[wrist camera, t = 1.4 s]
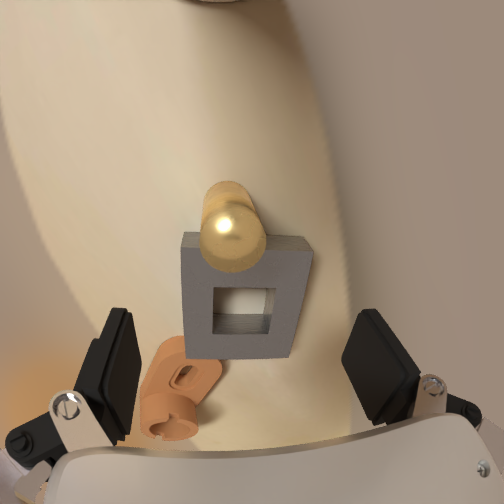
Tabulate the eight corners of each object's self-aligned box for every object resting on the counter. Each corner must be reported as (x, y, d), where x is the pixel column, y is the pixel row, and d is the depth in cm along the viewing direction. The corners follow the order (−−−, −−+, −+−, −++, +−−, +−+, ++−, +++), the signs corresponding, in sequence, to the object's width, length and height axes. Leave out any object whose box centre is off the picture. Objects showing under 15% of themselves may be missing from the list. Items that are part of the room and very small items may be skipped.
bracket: (182, 407, 42) (187, 442, 36) (134, 399, 38) (135, 436, 32) (229, 342, 36) (240, 385, 30) (168, 327, 32) (170, 373, 26)
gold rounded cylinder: (204, 180, 25) (200, 209, 17) (252, 182, 26) (269, 213, 18) (202, 224, 27) (198, 271, 19) (247, 226, 28) (262, 273, 20)
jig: (184, 231, 27) (180, 247, 24) (303, 236, 29) (313, 251, 26) (187, 338, 33) (185, 358, 30) (282, 338, 35) (288, 357, 32)
